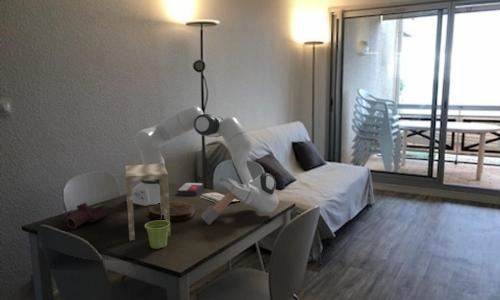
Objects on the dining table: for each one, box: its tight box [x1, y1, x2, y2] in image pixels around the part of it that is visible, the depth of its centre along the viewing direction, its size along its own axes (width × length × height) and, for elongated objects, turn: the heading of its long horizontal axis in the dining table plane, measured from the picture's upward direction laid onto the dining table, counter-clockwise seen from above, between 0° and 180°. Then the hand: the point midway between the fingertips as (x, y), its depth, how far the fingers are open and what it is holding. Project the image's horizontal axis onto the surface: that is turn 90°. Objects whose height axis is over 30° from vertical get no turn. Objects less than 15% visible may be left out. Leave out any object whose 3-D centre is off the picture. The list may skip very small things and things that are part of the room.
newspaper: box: [200, 192, 242, 204], centre depth 218 cm, size 23×12×2 cm, turn 39°
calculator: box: [176, 182, 205, 197], centre depth 233 cm, size 11×4×15 cm
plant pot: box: [144, 219, 171, 250], centre depth 156 cm, size 9×9×9 cm
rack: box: [125, 163, 171, 242], centre depth 172 cm, size 16×22×26 cm
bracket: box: [65, 202, 107, 230], centre depth 182 cm, size 6×17×10 cm, turn 153°
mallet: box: [200, 182, 242, 226], centre depth 182 cm, size 22×6×4 cm
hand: (220, 180), depth 180 cm, fingers open, 8 cm apart
